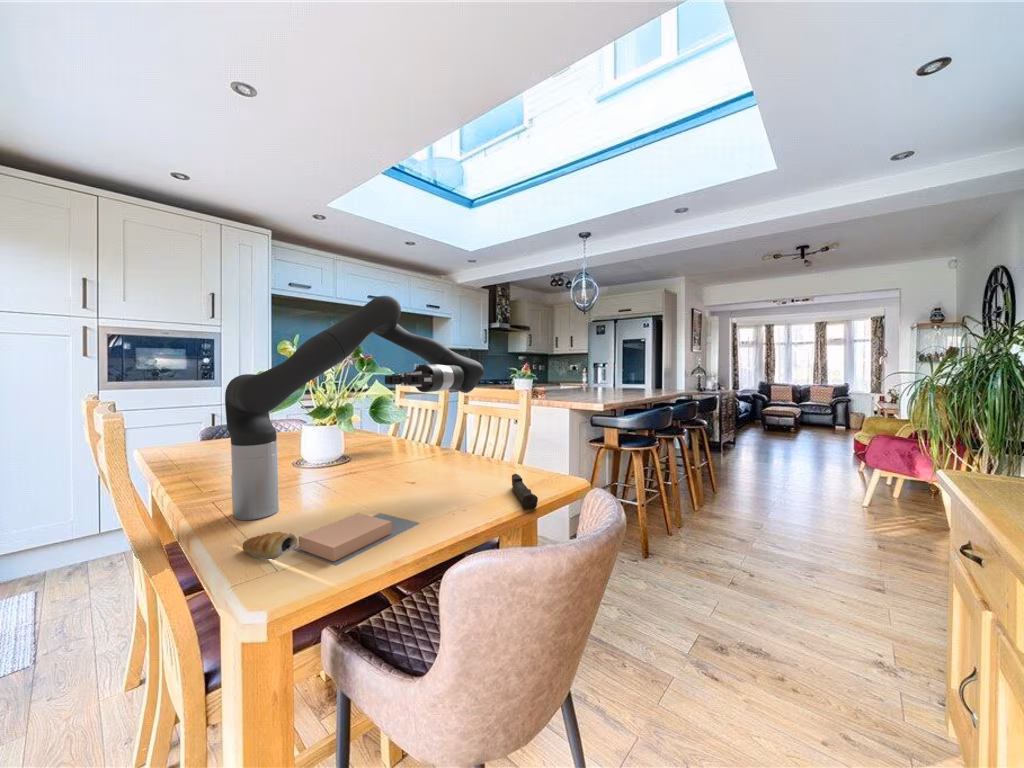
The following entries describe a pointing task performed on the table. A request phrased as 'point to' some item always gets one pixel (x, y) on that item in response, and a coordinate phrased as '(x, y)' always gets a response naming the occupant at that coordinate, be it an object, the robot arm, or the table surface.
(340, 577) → the table surface
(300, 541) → the tile
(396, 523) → the mat
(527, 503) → the hand tool
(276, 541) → the pastry
